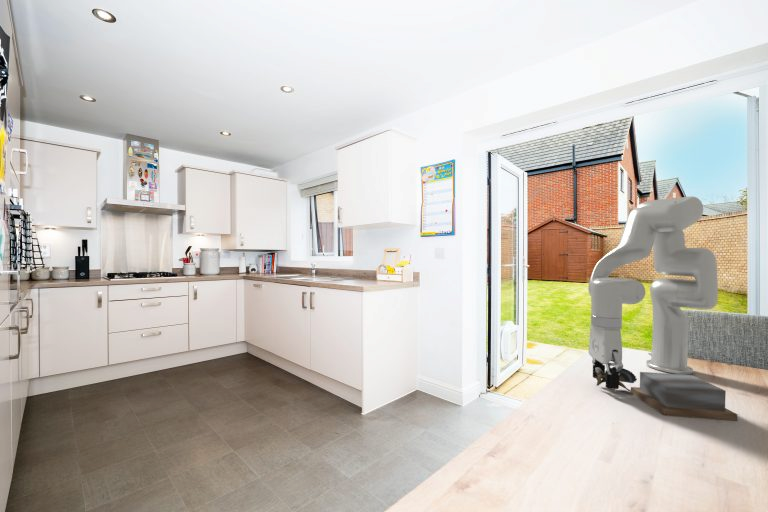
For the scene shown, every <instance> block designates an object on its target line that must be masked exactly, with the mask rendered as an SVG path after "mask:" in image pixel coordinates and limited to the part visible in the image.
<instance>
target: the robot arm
mask: <svg viewBox="0 0 768 512" xmlns="http://www.w3.org/2000/svg"><path fill="white" fill-rule="evenodd" d="M703 213H704V205H703V203H702V201H701V200H700V199H699V198H698V197H696V196H683V197H673V198H664V199H663V198H662V199H655V200H654V199H653V200H647V201H643V202H641V203H639V204H638V205H637V206H636V207H635V208H633V209H632V210H631V211H630V212H629V214H628V216H627V219H626V222H625V225H624V228H623V230H622V233H621V236H620V240H619V241H618V242H619V243H618V245H617V246H616V247H615V248H613V249H612V250H611V251H609V252H608V253H607V254H605V255H604V256H603V257H602V258H601V259H599V261H598V262H597V263H596V264H595V266H594V268H593V270H592V273H591V274H590V275H591V276H590V279H589V280H588V281H589V283H588V288H587V289H588V294H589V296H590V329H589V337H588V338H589V339H588V355H589V356H590V357H591V358H592V361H591V362H592V378H593V379H596V378H595V377H597V374H596V373H595V372H596V371H595V368H597V367H598V368H601V370H602V371H603V372H605V371H606V370H607V373H608V374H606V382H605V388H606V389H609V390H610V389H612V390H614V389H616V390H618V389H620V386H619V375H620V372H621V369H622V368H623V369H624V364H623V362H622V361H623V341H622V333H621V332H622V331H621V330H622V329H623V304H625V305H636V304H639V303H640V302H642V301H643V299H644V298H645V296H646V287H645V285H644V284H643V283H642V282H641V281H639V280H636V279H634V278H633V279H632V278H626V277H625V278H623V277H610V275H611V274H612V273H613V272H614V271H615V270H616V269H619V268H621V267H623V266H625V265H628V264H632V263H635V262H639V261H641V260H644V259H645V258H647V257H649V255H650V254H651V253H652V252H653V265H654V266H653V267H654V269H655V271H656V273H658V274H661V275H665V276H678V277H679V276H680V277H693V278H694V279H685V278H683V279H682V278H669V277H667V278H658V279H655V280H653V282H652V283H651V284H650V287H649V292H650V293H649V295H650V300H651V305H652V336H651V337H652V338H651V339H652V340H651V341H652V342H651V343H652V345H651V349H652V350H651V351H649V352H648V355H649V356H651V359H648V360H646V362H645V363H646V366H647V367H649V368H651V369H653V370H658V371H660V372H663V373H668V374H685V375H692V374H693V373H694V369H693V368H692V367H691V366H689V365H688V355H689V354H688V350H689V348H688V344H689V343H688V342H689V319H688V316H687V315H686V314H685V312H684V311H683V310H682V308H685V309H686V308H687V309H697V310H712V309H714V308H716V306H717V304H718V299H719V287H718V285H719V284H718V282H719V281H718V264H717V258H716V255H715V253H714V252H713V251H712V250H710V249H708V248H705V247H687V246H686V240H685V232H684V230H685V229H687V228H689V227H691V226H693V225H694V224H696V223H698V222H699V220H700V219H701V217H702V216H703ZM612 366H613V367H612ZM611 368H612V369H611ZM594 371H595V372H594Z"/></svg>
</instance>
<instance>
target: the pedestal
mask: <svg viewBox="0 0 768 512" xmlns="http://www.w3.org/2000/svg"><path fill="white" fill-rule="evenodd" d="M630 390H631V391H632V392H630V393H631V394H632V395H634V396H636V397H637V398H638V399H640V400H642V401H643V402H645V403H646V404H647V405H648V406H651V408H653V409H655V410H656V411H657V412H659V413H661V415H664V416H668V417H669V416H670V417H671V416H672V417H684V418H695V419H696V418H697V419H710V420H725V421H738V416H739V415H738V414H737V413H735V412H733V411H732V410H730V409H728V408H726V396H727V395H726V390H725V389H722V388H721V387H718V386H716V385H714V384H712V383H710V382H707V381H705V380H703V379H702V378H699V377H697V376H694V375H692V374H675V373H669V372H663V373H662V372H646V371H639V387H638V386H637V387H636V386H630Z"/></svg>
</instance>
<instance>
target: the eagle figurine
mask: <svg viewBox="0 0 768 512" xmlns="http://www.w3.org/2000/svg"><path fill="white" fill-rule="evenodd" d="M610 368H611V369H612V367H610ZM595 371H596V372H595ZM595 371H594V372H595V373H596V374H597V377H595V378H594V379H596V387H597V386H601V384H604V383H606V374H608V373H607V369H605V372H603V371H602V370H601V368H598V367H597V368H595ZM637 380H638V379H637V376H636V375H635V374H634V373H633V372H632V371H630V370H628V369H626V368H624V367H623V368H622V369H621V372H620V375H619V387H621V388H624V389H625V390H626V391H628V392H630V393H631V392H632V391H631V389H628V388H627V386H626V385H625V384H624V383H629V384H634V383H635V382H637ZM616 390H617V389H613V391H614V392H616Z"/></svg>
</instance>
